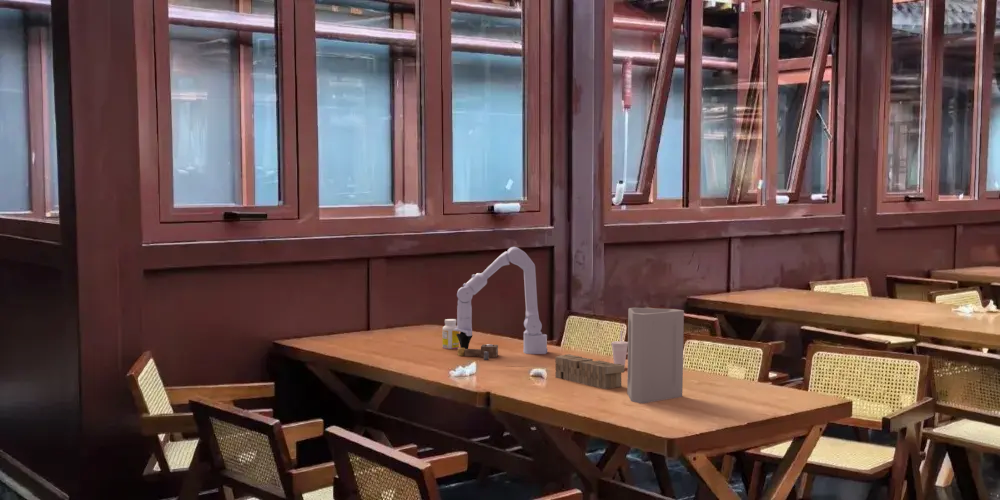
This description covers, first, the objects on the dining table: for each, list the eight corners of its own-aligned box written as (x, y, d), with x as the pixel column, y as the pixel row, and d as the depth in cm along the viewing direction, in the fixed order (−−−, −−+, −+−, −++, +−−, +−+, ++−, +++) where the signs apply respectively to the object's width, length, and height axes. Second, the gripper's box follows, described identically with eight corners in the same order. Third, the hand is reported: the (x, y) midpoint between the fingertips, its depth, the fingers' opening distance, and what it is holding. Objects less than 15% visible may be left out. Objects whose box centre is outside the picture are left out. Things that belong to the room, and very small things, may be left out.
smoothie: (627, 370, 392) (627, 332, 391) (609, 369, 394) (610, 331, 393) (628, 367, 399) (629, 330, 398) (611, 366, 400) (612, 329, 399)
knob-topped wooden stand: (497, 354, 416) (497, 344, 415) (496, 357, 410) (496, 347, 409) (458, 354, 417) (458, 343, 417) (456, 356, 411) (456, 346, 411)
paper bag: (650, 389, 356) (652, 306, 354) (683, 396, 344) (685, 310, 343) (608, 395, 345) (609, 309, 343) (641, 403, 333) (642, 314, 331)
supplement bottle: (459, 349, 437) (459, 318, 436) (457, 352, 430) (457, 320, 429) (443, 349, 437) (443, 318, 436) (441, 352, 431) (441, 320, 430)
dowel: (488, 360, 405) (488, 351, 405) (488, 361, 403) (488, 352, 403) (484, 360, 405) (484, 351, 405) (483, 361, 404) (483, 351, 403)
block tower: (552, 379, 378) (607, 390, 355) (552, 356, 378) (606, 365, 354) (569, 377, 383) (624, 387, 359) (569, 354, 383) (624, 362, 359)
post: (492, 359, 414) (492, 344, 414) (492, 360, 412) (492, 345, 411) (486, 359, 414) (486, 344, 414) (486, 360, 412) (486, 345, 411)
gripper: (449, 315, 425) (449, 349, 426) (459, 320, 411) (459, 355, 412) (466, 314, 427) (466, 348, 428) (477, 319, 413) (477, 354, 414)
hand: (464, 351), depth 420 cm, fingers closed
